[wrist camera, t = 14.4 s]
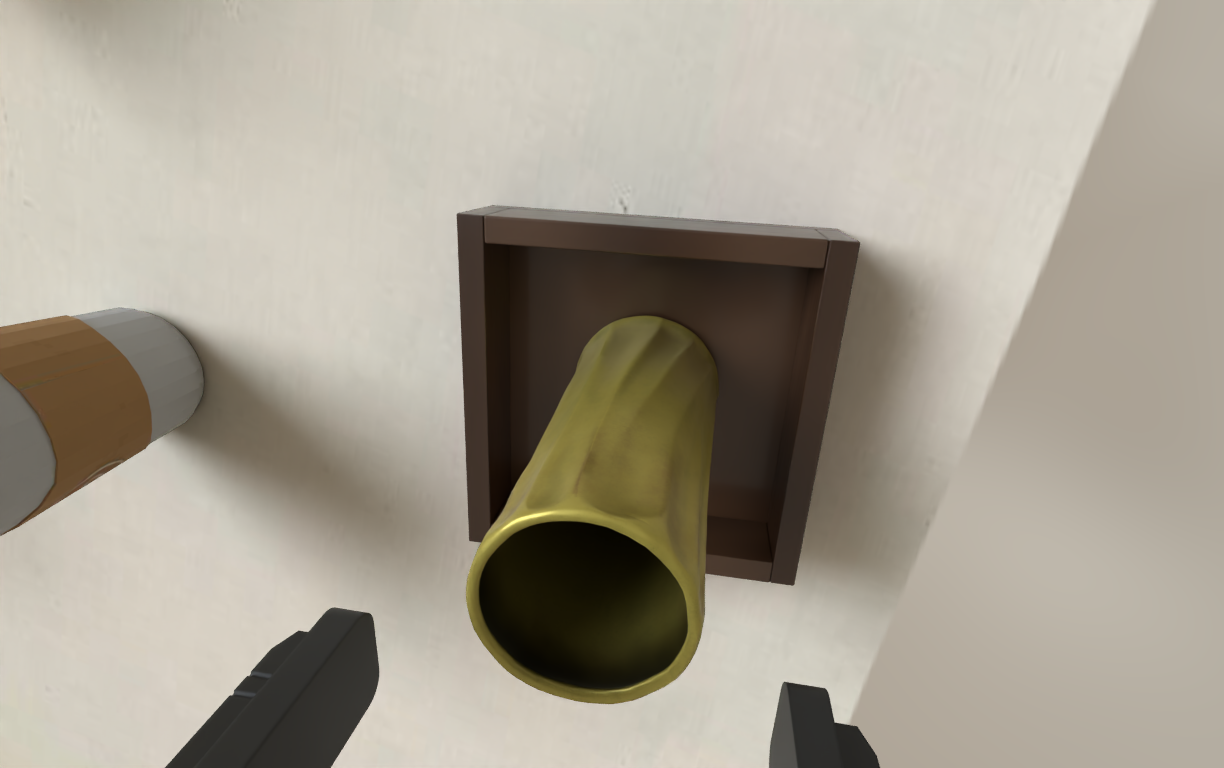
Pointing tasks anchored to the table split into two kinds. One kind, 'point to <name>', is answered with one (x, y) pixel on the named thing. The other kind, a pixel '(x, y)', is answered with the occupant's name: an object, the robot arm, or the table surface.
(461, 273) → the tray
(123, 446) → the coffee cup
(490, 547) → the vase
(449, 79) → the table surface
